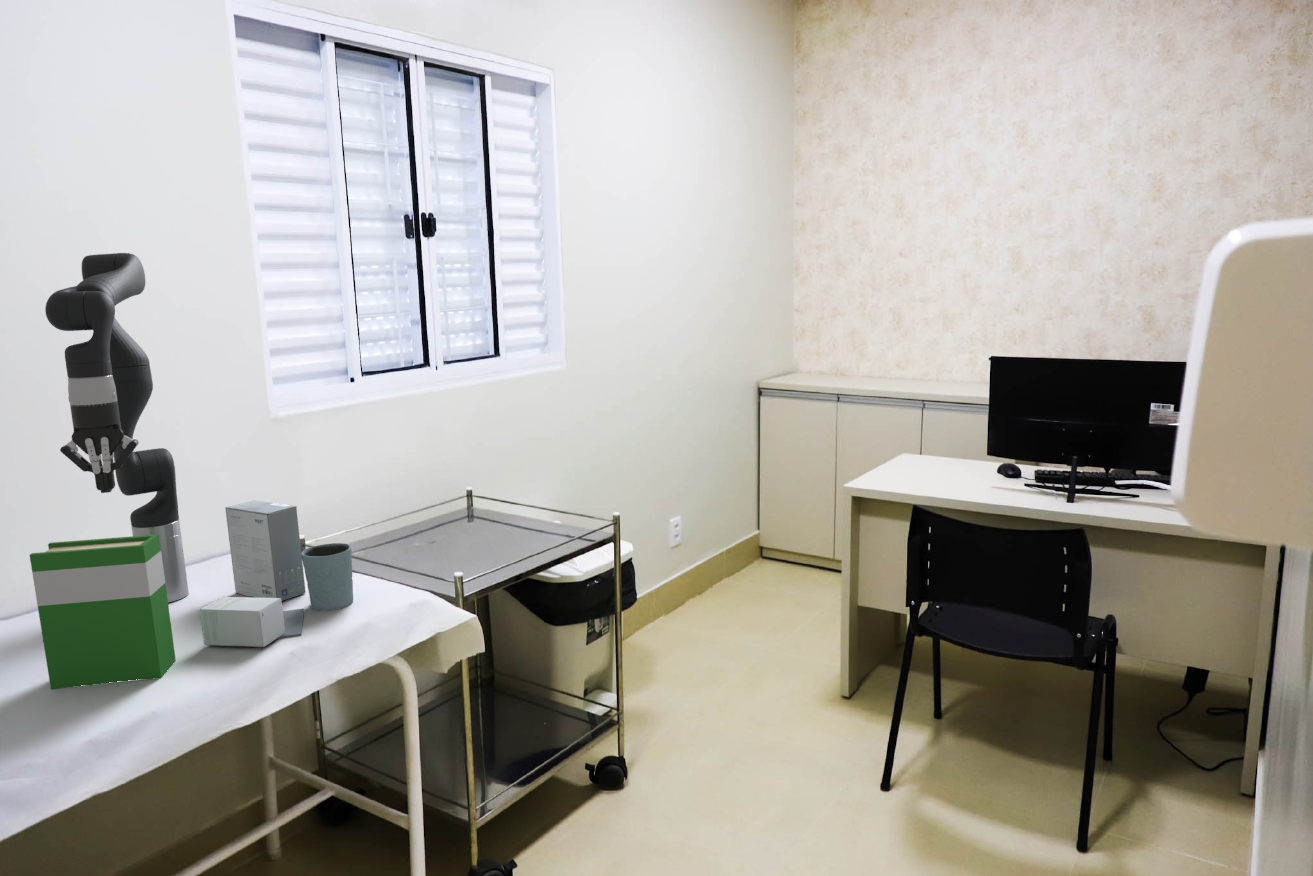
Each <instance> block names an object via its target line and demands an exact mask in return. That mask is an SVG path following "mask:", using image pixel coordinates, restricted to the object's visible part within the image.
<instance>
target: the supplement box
mask: <svg viewBox="0 0 1313 876" xmlns="http://www.w3.org/2000/svg"><path fill="white" fill-rule="evenodd" d="M283 611H284V610H283V603H282V601H281V598H255V597H251V596H246V597H245V596H244V597H242V596H241V597H240V596H223V597H220V598H218V599H217V600H214V601H212V602H211V603H209V604H207V605H205V606H203V607H202V608H200V610H199V615H200V624H201V632H202V639H203V644H204V646H221V647H222V646H226V647H253V648H254V647H255V648H256V647H257V648H258V647H259V648H261V647H262V648H264V647H266V646H268V645H269V644H271V643H272V642H273V641H275V640H278V639H277V638H278V637H280V636H281V635H283V634H284V633H285V626H284V617H283Z"/></svg>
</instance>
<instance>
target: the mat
mask: <svg viewBox="0 0 1313 876" xmlns="http://www.w3.org/2000/svg"><path fill="white" fill-rule="evenodd" d="M304 613H305V609H304V607H303V608H297V609H296V608H295V609H289V610H283V617H284V626H285V633H284V634H283V635H281V636H280V637H278V638H280V639H286V638H293V636H294V637H299V636H302V633H303V632H302V631H303V623H304Z"/></svg>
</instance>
